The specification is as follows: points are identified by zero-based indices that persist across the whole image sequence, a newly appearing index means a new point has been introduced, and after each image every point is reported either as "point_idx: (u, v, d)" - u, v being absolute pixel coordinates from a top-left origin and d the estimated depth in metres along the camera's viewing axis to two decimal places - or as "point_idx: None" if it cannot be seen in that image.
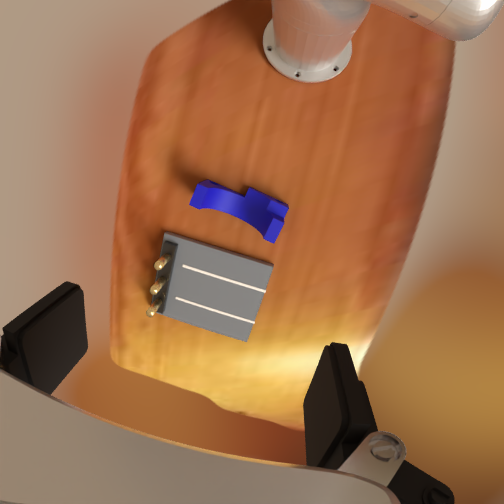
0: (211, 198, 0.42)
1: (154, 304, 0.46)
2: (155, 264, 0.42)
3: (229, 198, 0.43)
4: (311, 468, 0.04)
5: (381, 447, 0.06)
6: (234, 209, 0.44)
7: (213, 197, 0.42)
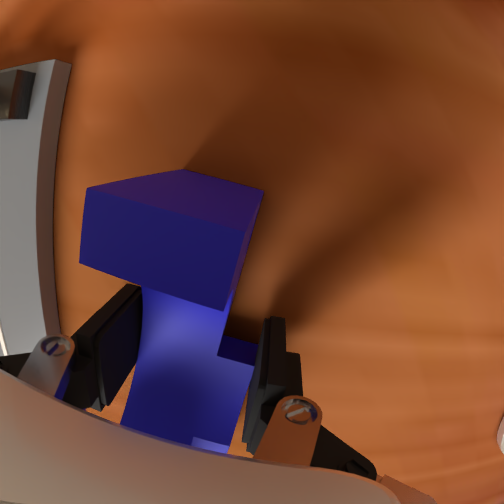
0: None
1: None
2: None
3: (199, 312, 0.10)
4: (311, 468, 0.04)
5: (295, 411, 0.07)
6: (164, 326, 0.11)
7: None
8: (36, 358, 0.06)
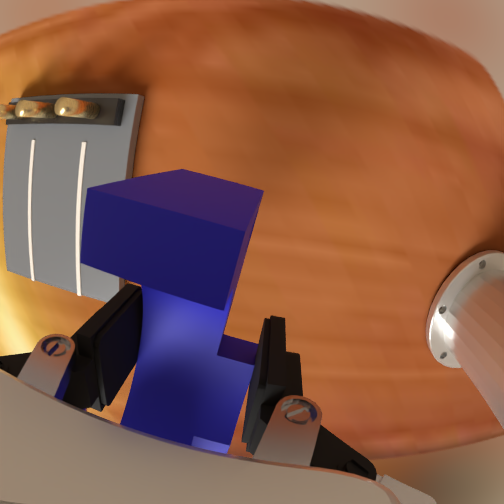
0: None
1: (9, 111, 0.17)
2: (64, 100, 0.15)
3: (199, 312, 0.10)
4: (311, 468, 0.04)
5: (294, 411, 0.07)
6: (164, 326, 0.11)
7: None
8: (36, 358, 0.06)
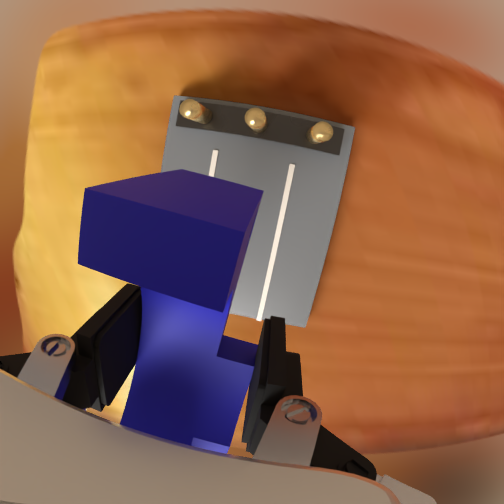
0: None
1: (205, 112, 0.19)
2: (326, 125, 0.17)
3: (199, 313, 0.10)
4: (311, 468, 0.04)
5: (295, 411, 0.07)
6: (163, 327, 0.11)
7: None
8: (36, 358, 0.06)
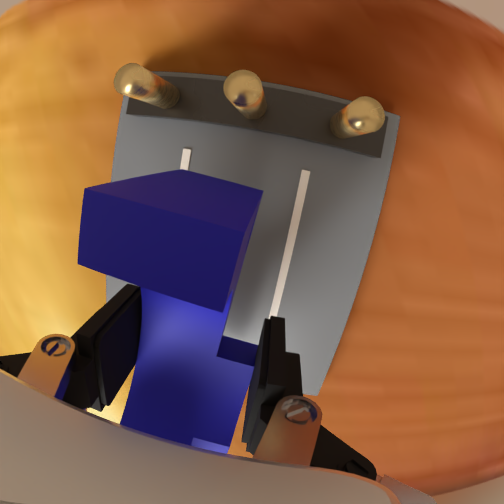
0: None
1: (163, 87, 0.11)
2: (373, 104, 0.09)
3: (198, 313, 0.10)
4: (311, 468, 0.04)
5: (295, 411, 0.07)
6: (163, 327, 0.11)
7: None
8: (36, 358, 0.06)
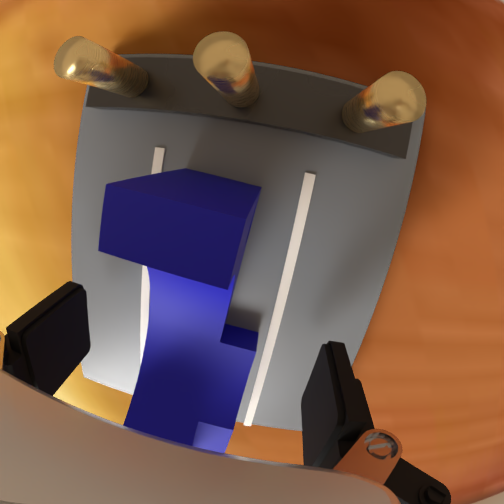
0: None
1: (122, 68, 0.08)
2: (410, 82, 0.05)
3: (203, 300, 0.11)
4: (311, 468, 0.04)
5: (377, 445, 0.06)
6: (169, 315, 0.12)
7: None
8: None
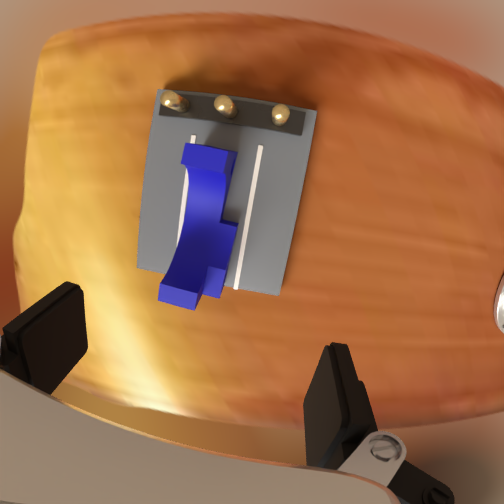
0: (205, 174, 0.23)
1: (182, 102, 0.21)
2: (283, 107, 0.20)
3: (212, 199, 0.25)
4: (311, 468, 0.04)
5: (381, 447, 0.06)
6: (196, 210, 0.26)
7: (208, 177, 0.23)
8: None
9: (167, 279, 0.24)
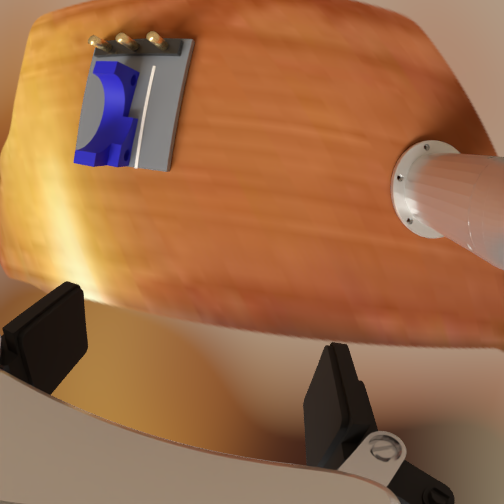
0: (110, 82, 0.29)
1: (103, 43, 0.28)
2: (153, 32, 0.26)
3: (118, 100, 0.32)
4: (311, 468, 0.04)
5: (381, 447, 0.06)
6: (109, 110, 0.32)
7: (113, 83, 0.30)
8: None
9: (81, 149, 0.30)
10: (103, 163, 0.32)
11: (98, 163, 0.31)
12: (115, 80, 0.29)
